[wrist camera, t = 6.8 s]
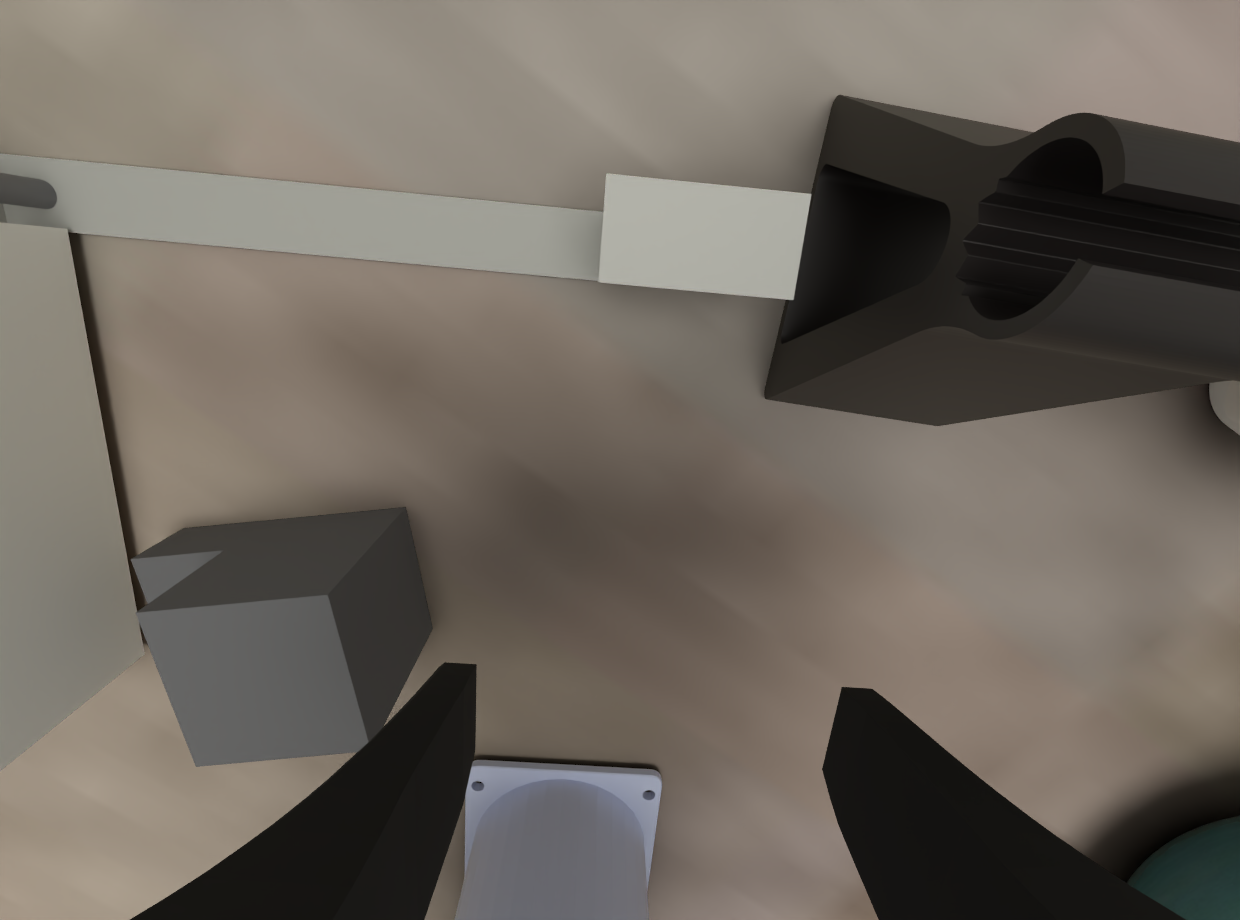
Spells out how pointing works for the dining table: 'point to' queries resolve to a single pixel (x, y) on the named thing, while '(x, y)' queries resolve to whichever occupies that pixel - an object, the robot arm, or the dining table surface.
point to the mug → (1226, 402)
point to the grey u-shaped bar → (436, 224)
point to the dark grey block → (284, 631)
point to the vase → (1196, 873)
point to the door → (54, 502)
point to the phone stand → (1009, 266)
